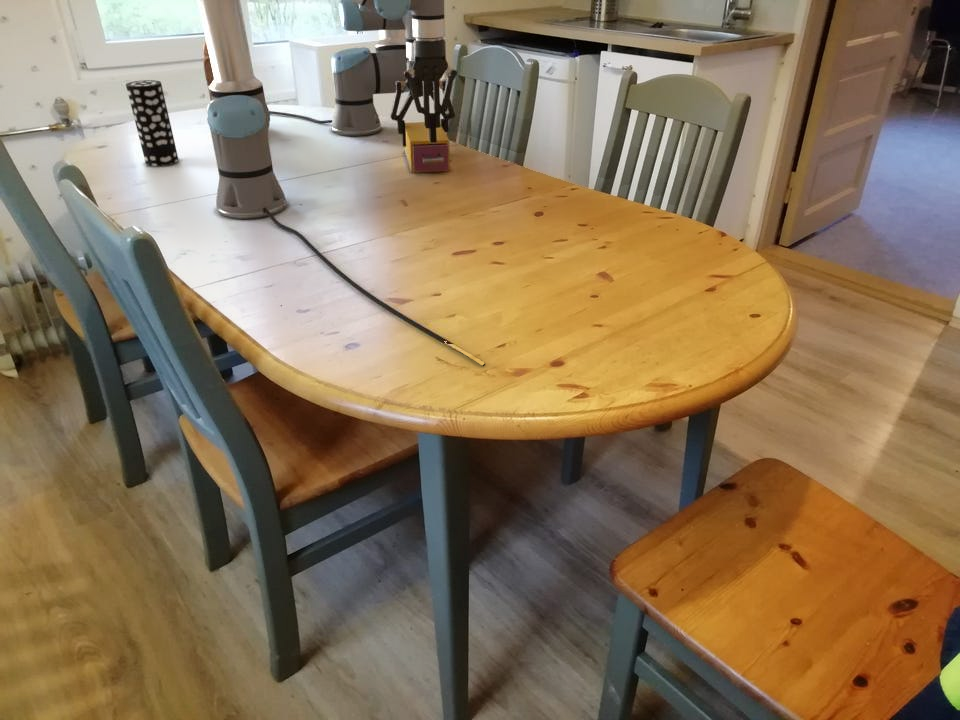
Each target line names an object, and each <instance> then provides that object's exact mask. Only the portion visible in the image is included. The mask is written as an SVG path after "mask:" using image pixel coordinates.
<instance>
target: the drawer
mask: <svg viewBox="0 0 960 720" xmlns="http://www.w3.org/2000/svg"><path fill="white" fill-rule="evenodd" d="M413 161H414V171H431V170H448V145H444V144H418V145H414V146H413Z"/></svg>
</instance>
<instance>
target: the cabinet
mask: <svg viewBox="0 0 960 720" xmlns="http://www.w3.org/2000/svg"><path fill="white" fill-rule="evenodd" d="M405 135H406V147H404V154H405V158H406V160H407V164H408V167H409V169H410V173H411V174H412V173H414V174H415V173H434V172H437V173H438V172H450V171H451V170H450V139H449V137H448V135H447V132H444V130H443V128H442V126H441V123H440V128H436V137H437V142H434V143H431V142H430V140H429V128H426V127H425V123H424V121H421V122H405ZM418 144H444V145H448V170H431V171H414V161H413V146H414V145H418Z"/></svg>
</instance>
